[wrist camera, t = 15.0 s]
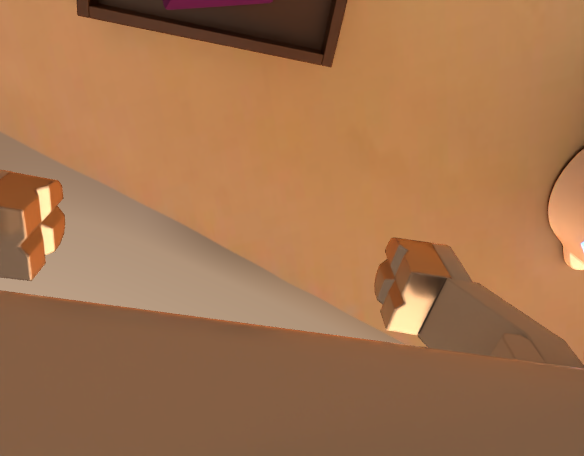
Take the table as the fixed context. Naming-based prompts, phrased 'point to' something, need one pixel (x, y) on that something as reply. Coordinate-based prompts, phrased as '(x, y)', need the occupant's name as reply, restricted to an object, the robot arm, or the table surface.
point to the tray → (238, 24)
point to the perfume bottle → (208, 3)
